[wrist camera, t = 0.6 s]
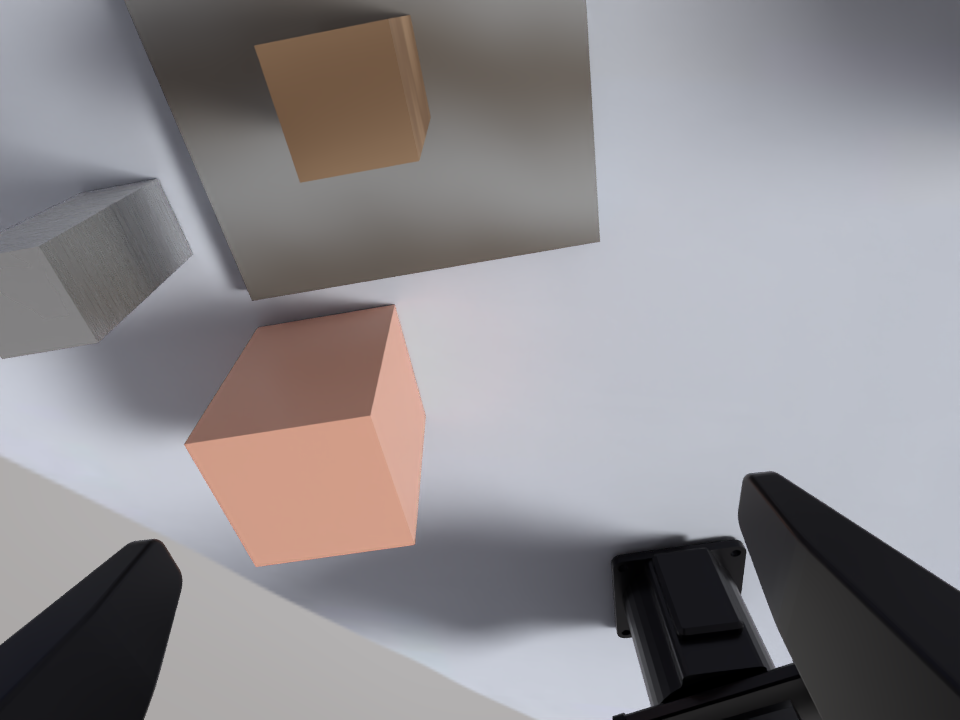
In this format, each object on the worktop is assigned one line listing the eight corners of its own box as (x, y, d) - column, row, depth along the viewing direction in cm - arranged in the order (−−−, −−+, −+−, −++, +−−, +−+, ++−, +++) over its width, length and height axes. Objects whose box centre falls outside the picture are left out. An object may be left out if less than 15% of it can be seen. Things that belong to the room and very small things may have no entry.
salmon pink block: (425, 415, 23) (414, 544, 18) (304, 434, 24) (255, 567, 18) (394, 304, 21) (370, 415, 15) (257, 327, 21) (184, 444, 15)
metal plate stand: (595, 233, 19) (646, 319, 14) (259, 291, 20) (187, 393, 15) (564, -260, 13) (636, -443, 8) (76, -150, 14) (-164, -246, 9)
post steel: (193, 254, 19) (98, 342, 14) (121, 267, 20) (2, 358, 14) (157, 178, 18) (38, 246, 13) (80, 192, 18) (-66, 265, 13)
